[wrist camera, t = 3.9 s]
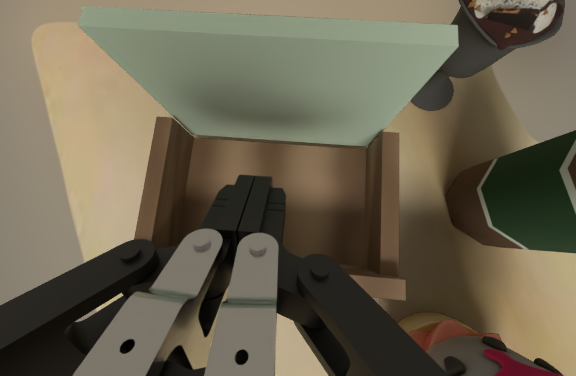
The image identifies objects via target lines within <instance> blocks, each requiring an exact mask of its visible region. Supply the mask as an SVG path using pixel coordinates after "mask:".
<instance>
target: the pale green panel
mask: <svg viewBox="0 0 576 376" xmlns="http://www.w3.org/2000/svg"><path fill="white" fill-rule="evenodd" d="M78 27H80V28H81V29H82V30H83V31H84V32H85V33H86V34H87V35H88V36H89V37H90V38H91V39H92V40H93V41H94V42H95V43H96V44H97V45H98V46H100V47H101V48H102V49H103V50H104V51H105V52H106V53H107V54H108V55H109V56H110V57H111V58H112V59H113V60H114V61H115V62H116V63H117V64H119V65H120V66H121V67H122V68H123V69H124V70H125V71H126V72H127V73H128V74H129V75H130V76H131V77H132V78H133V79H134V80H135V81H136V82H137V83H139V84H140V85H141V86H142V87H143V88H144V89H145V90H146V91H147V92H148V93H149V94H150V95H151V96H152V97H153V98H154V99H155V100H156V101H157V102H159V103H160V104H161V105H162V106H163V107H164V108H165V109H166V110H167V111H168V112H169V113H170V114H171V115H172V116H173V117H174V118H175V119H176V120H178V121H179V122H180V123H181V124H182V125H183V126H184V127H185V128H186V129H187V130H188V131H189V132H190V133H191V134H193V135H207V136H221V137H236V138H250V139H265V140H279V141H294V142H308V143H323V144H337V145H351V146H366V147H369V146H370V145H371V144H372V142H373V141H374V140H375V139H376V138H377V137H378V136H379V135H380V134H381V132H382V131H383V130H384V129H385V128H386V127H387V126H388V125H389V124H390V122H391V121H392V120H393V119H394V118H395V117H396V116H397V115H398V113H399V112H400V111H401V110H402V109H403V108H404V107H405V106H406V105H407V103H408V102H409V101H410V100H411V99H412V98H413V97H414V96H415V95H416V93H417V92H418V91H419V90H420V89H421V88H422V87H423V86H424V84H425V83H426V82H427V81H428V80H429V79H430V78H431V77H432V76H433V74H434V73H435V72H436V71H437V70H438V69H439V68H440V67H441V66H442V64H443V63H444V62H445V61H446V60H447V59H448V58H449V57H450V55H451V54H452V53H453V52H454V51H455V50H456V49H457V48H458V47H459V44H458V25H447V24H427V23H406V22H386V21H369V20H368V21H367V20H349V19H348V20H347V19H329V18H310V17H290V16H270V15H251V14H232V13H211V12H190V11H170V10H152V9H132V8H131V9H130V8H112V7H93V6H83V8H82V12H81V16H80V20H79V23H78Z"/></svg>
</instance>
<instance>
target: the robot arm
mask: <svg viewBox="0 0 576 376" xmlns="http://www.w3.org/2000/svg"><path fill="white" fill-rule="evenodd" d="M285 211H286V194H285V192H284V190H283V188H273V179H272V177H270V176H255V175H239V176H238V178H237V180H236V182H235V185H229V184H227V185H226V186H224V187H223V188H222V189H221V190H219V192H218V194H217V196H216V198H215V200H214V202H213V204H212V206H211V207H210V209H209V211H208V213H207V215H206V217H205V219H204V221H203V223H202V225H201V227H200V229H199V230H196V231H194V232H192V233H190V234H188V235H187V236H186V237H185V238H184V239H183V240H182V242H181V243H180V244H179V245H176V246H170V247H165V248H159V249H155V246H154V244H153V243H152V242H151V241H149V240H146V239H135V240H131V241H128V242H125V243H123V244H121V245H119V246H117V247H115V248H113V249H111V250H109V251H107V252H105V253H103V254H101V255H99V256H97V257H95V258H93V259H91V260H89V261H87V262H86V263H84V264H82V265H80V266H78V267H76V268H74V269H72V270H70V271H68V272H66V273H64V274H62V275H60V276H58V277H56V278H54V279H52V280H50V281H48V282H46V283H44V284H42V285H40V286H38V287H36V288H34V289H32V290H30V291H28V292H26V293H24V294H22V295H20V296H18V297H16V298H14V299H12V300H10V301H8V302H6V303H4V304H2V305H0V376H275V354H276V321H277V313H278V314H280V315H282V316H284V317H286V318H289V319H291V320H293V321H294V323H295V325H296V327H297V329H298V330H299V332H300V333H301V335H302V336H303V338H304V339H305V341H306V342H307V344H308V345H309V347H310V348H311V350H312V351H313V353H314V354H315V356H316V357H317V359H318V360H319V362H320V363H321V365H322V366H323V368H324V369H325V371H326V372H327V374H328V375H329V376H449V375H448V374H447V373H446V372H445V371H444V370H443V369H442V368H441V367H440V366H439V365H438V364H437V363H436V362H435V361H434V360H433V359H432V358H431V357H430V356H429V355H428V354H427V353H426V352H425V351H424V350H423V349H422V348H421V347H420V346H419V345H418V344H417V343H416V342H415V341H414V340H413V339H412V338H411V337H410V336H409V335H408V334H407V333H406V332H405V331H404V330H403V329H402V328H401V327H400V325H399V324H398V323H397V322H396V321H395V320H394V319H393V318H392V317H391V316H390V315H389V314H388V313H387V312H386V311H385V310H384V309H383V308H382V307H381V306H380V305H379V304H378V303H377V302H376V301H375V300H374V299H373V298H372V297H371V296H370V295H369V294H368V293H367V292H366V291H365V290H364V289H363V288H362V287H361V286H360V285H359V284H358V283H357V282H356V281H355V280H354V279H353V278H352V277H351V276H350V275H349V274H348V273H347V272H346V271H345V270H344V269H343V268H342V267H341V266H340V265H339V264H338V263H337V262H336V261H335V260H334V259H332V258H331V257H329V256H326V255H323V254H311V255H308V256H306V257H304V258H301V257H298V256H295V255H293V254H291V253H290V252H288V251H287V250H286V249H285V248H284V246H283V245H282V243H283V234H284V226H285ZM120 293H122V294H123V295H124V296H122V297H120V298H119V299H117V300H116V301H114V302H112V303H111V304H109V305H108V306H106V307H104V308H103V309H101V310H100V311H98V312H97V313H95V314H93V315H92V316H90V317H89V318H87V319H85V320H83V321H80V322H75V321H76V320H78V319H79V318H81V317H82V316H84V315H86V314H88V313H89V312H91V311H92V310H94V309H96V308H97V307H99V306H101V305H102V304H104V303H105V302H107V301H109V300H110V299H112V298H114V297H115V296H117V295H118V294H120ZM212 338H213V339H212ZM211 341H212V343H211ZM210 345H211V348H210Z"/></svg>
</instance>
